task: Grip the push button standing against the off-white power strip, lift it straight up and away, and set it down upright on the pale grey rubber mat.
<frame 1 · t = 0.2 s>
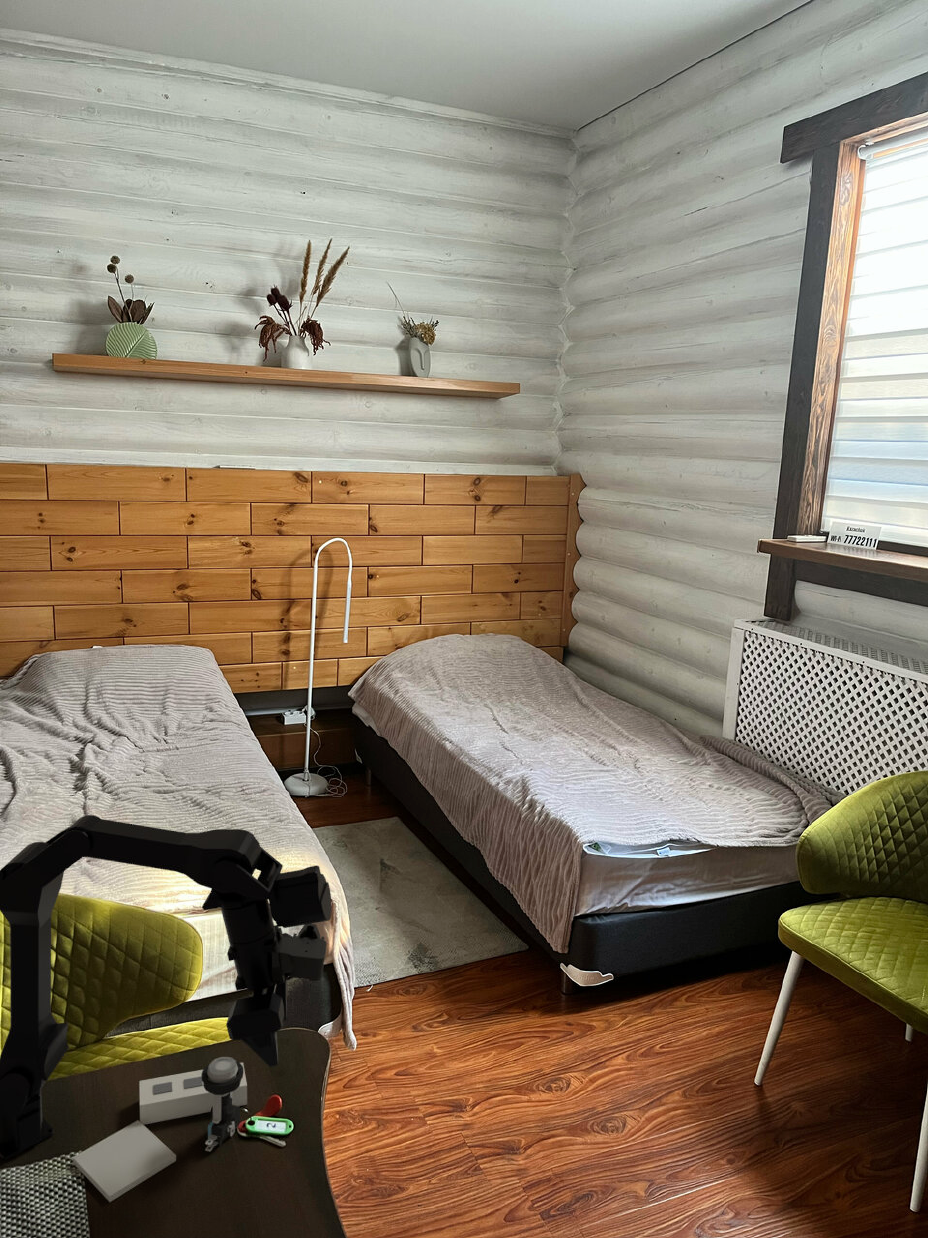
hand: (278, 1042, 117), 15 cm above the table, tool pointing down, fingers open, 9 cm apart
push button: (220, 1137, 121), on the table
rubber mat: (124, 1162, 116), on the table
power strip: (193, 1102, 127), on the table
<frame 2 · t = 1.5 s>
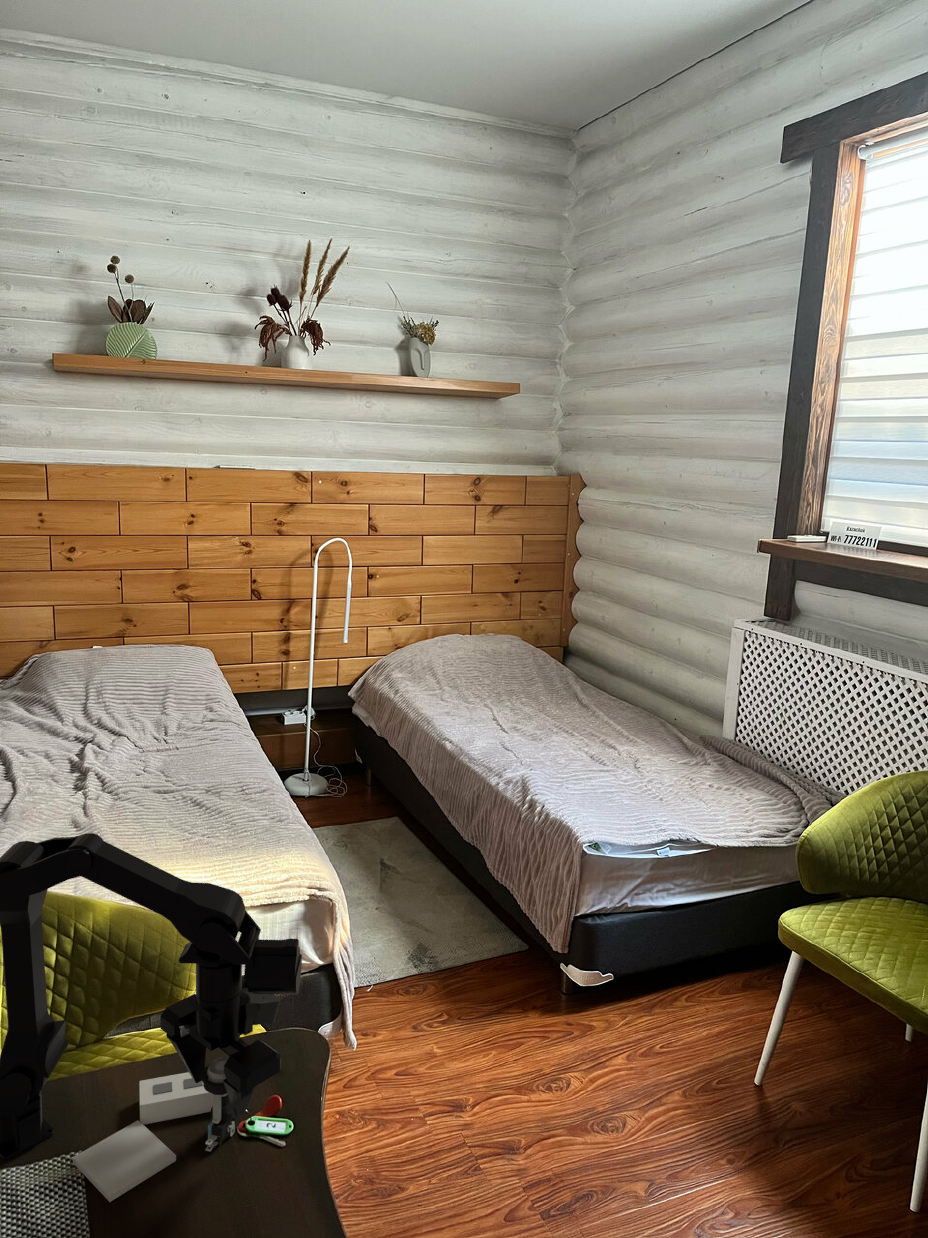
hand: (219, 1098, 120), 6 cm above the table, tool pointing down, fingers open, 9 cm apart
nothing on the table moved.
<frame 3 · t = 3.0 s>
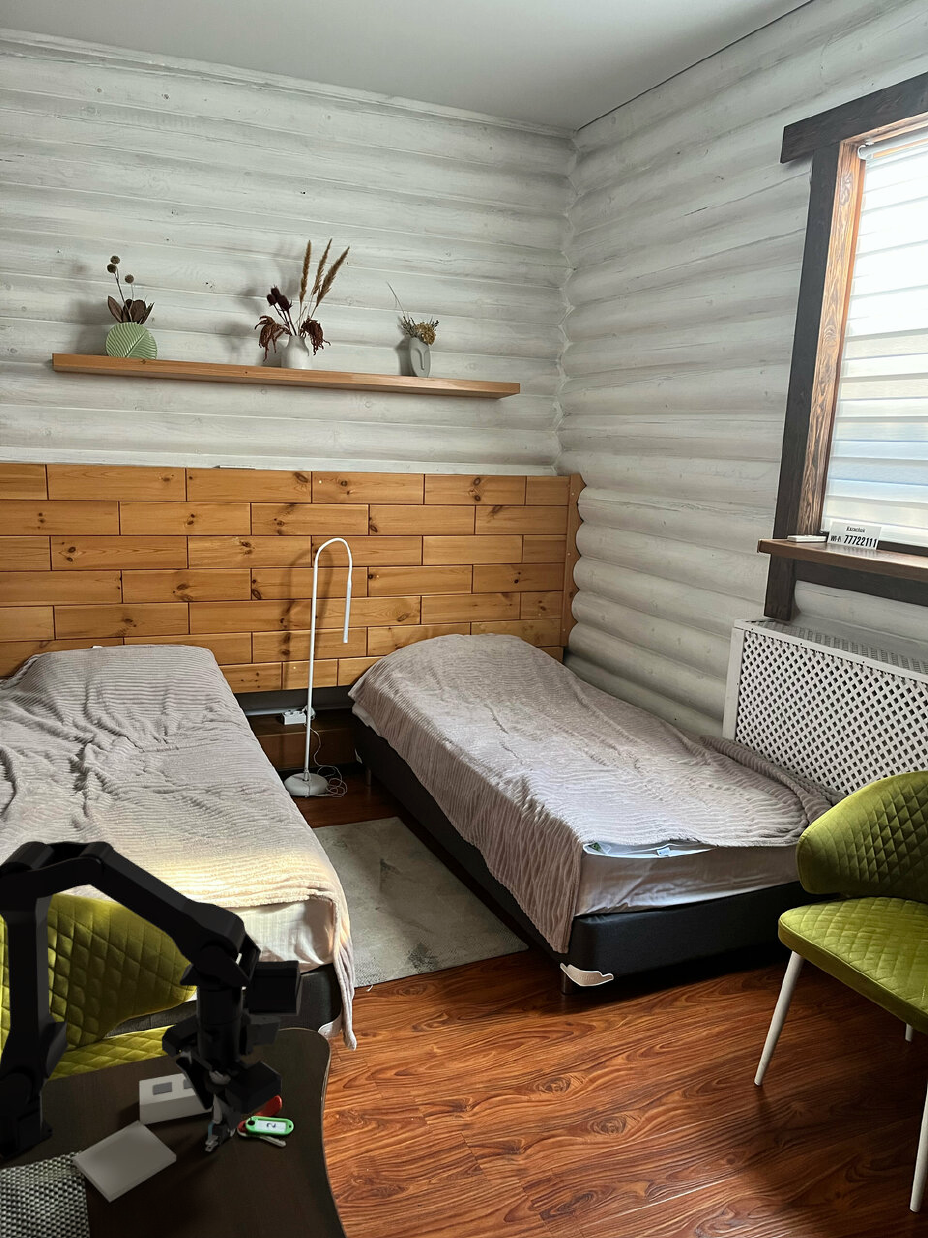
hand: (220, 1118, 121), 3 cm above the table, tool pointing down, fingers closed on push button, 5 cm apart
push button: (220, 1137, 121), on the table, touching gripper
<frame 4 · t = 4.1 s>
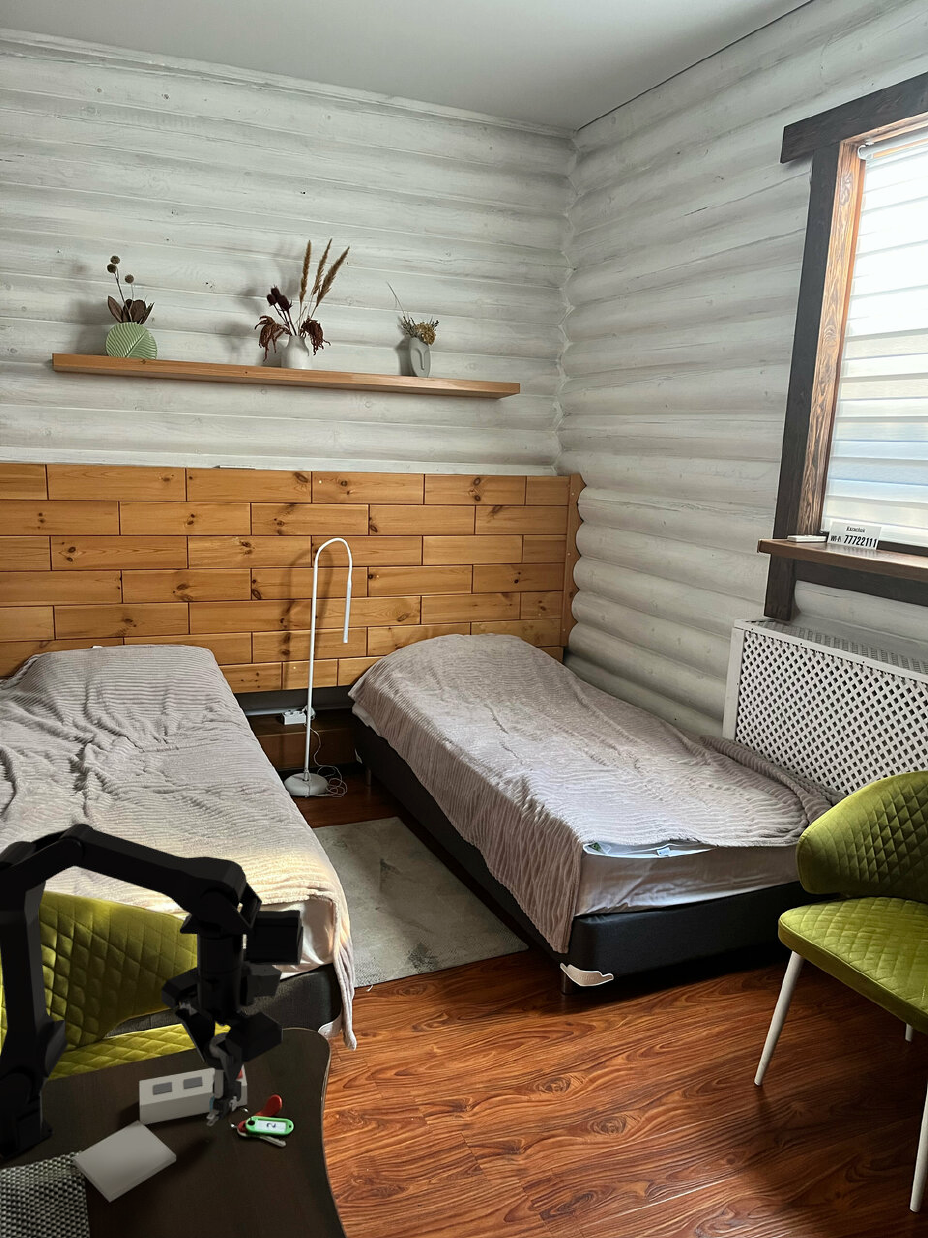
hand: (220, 1070, 120), 10 cm above the table, tool pointing down, fingers closed on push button, 5 cm apart
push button: (221, 1112, 121), point 4 cm above the table, touching gripper
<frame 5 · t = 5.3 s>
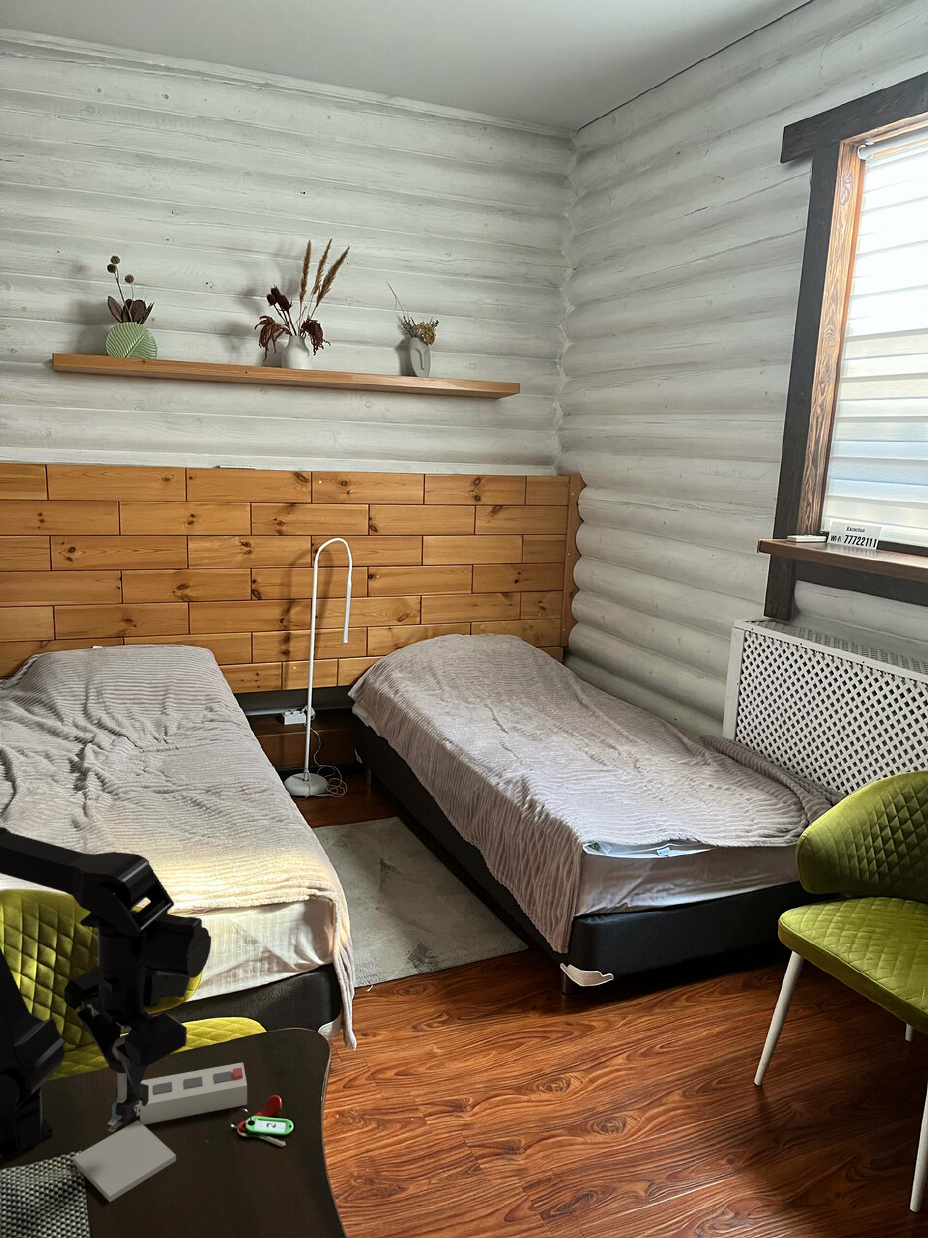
hand: (124, 1074, 114), 12 cm above the table, tool pointing down, fingers closed on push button, 5 cm apart
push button: (126, 1117, 115), point 6 cm above the table, touching gripper
when the fingers open (4 cm above the table, at t = 7.6 s): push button stays where it is, resting on rubber mat.
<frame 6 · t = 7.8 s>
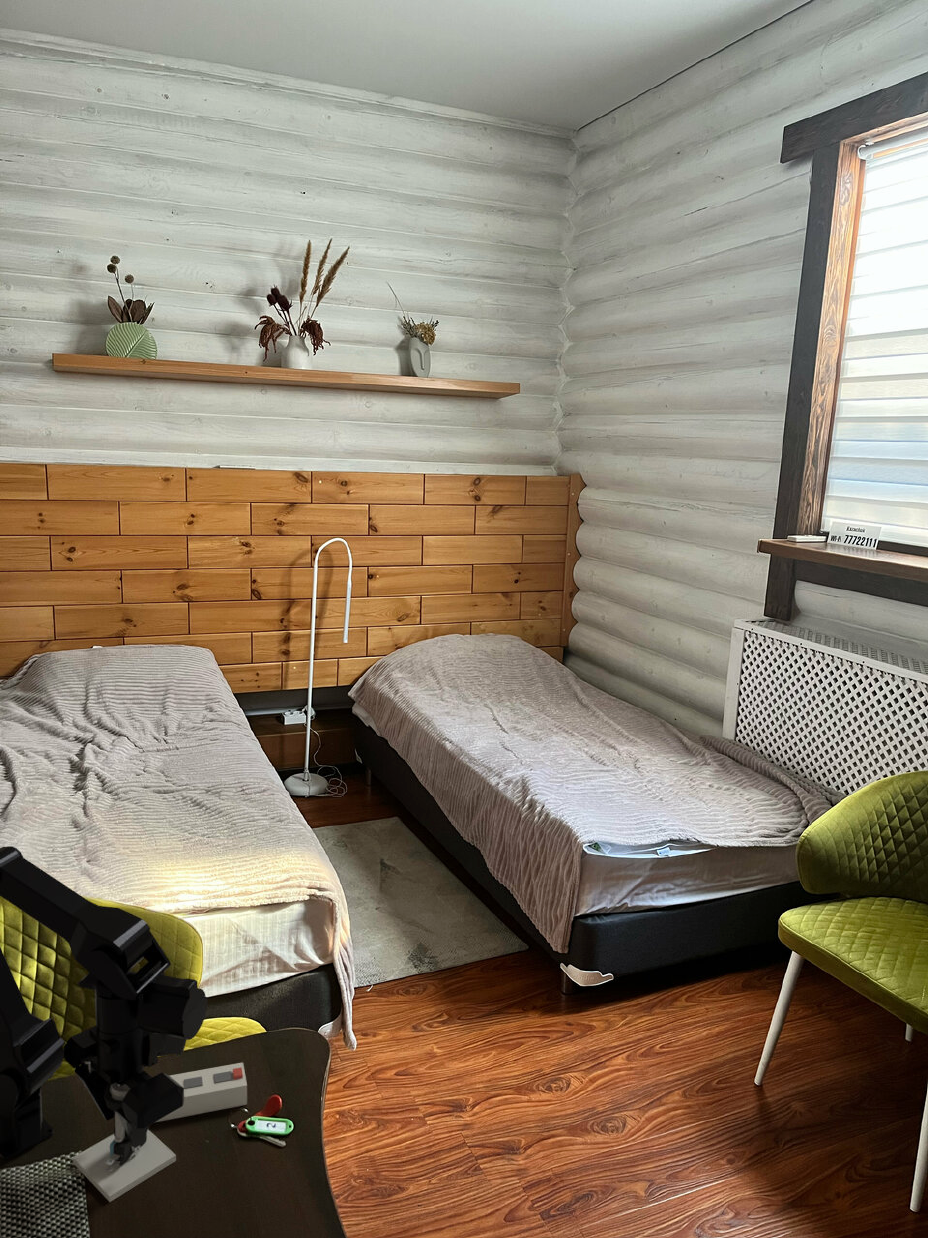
hand: (123, 1132, 116), 4 cm above the table, tool pointing down, fingers open, 6 cm apart
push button: (124, 1156, 116), point 1 cm above the table, touching rubber mat
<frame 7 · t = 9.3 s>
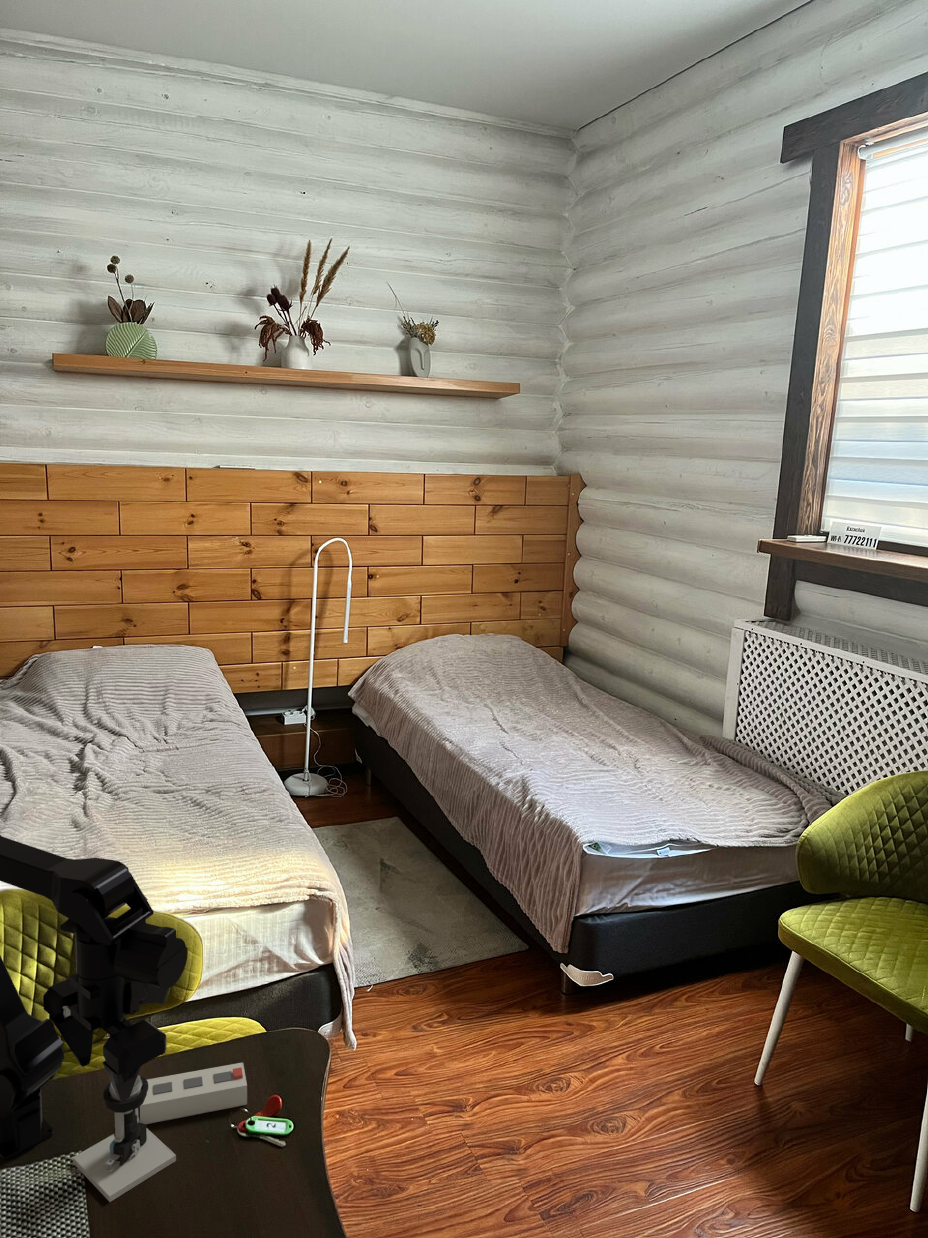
hand: (104, 1082, 113), 12 cm above the table, tool pointing down, fingers open, 9 cm apart
nothing on the table moved.
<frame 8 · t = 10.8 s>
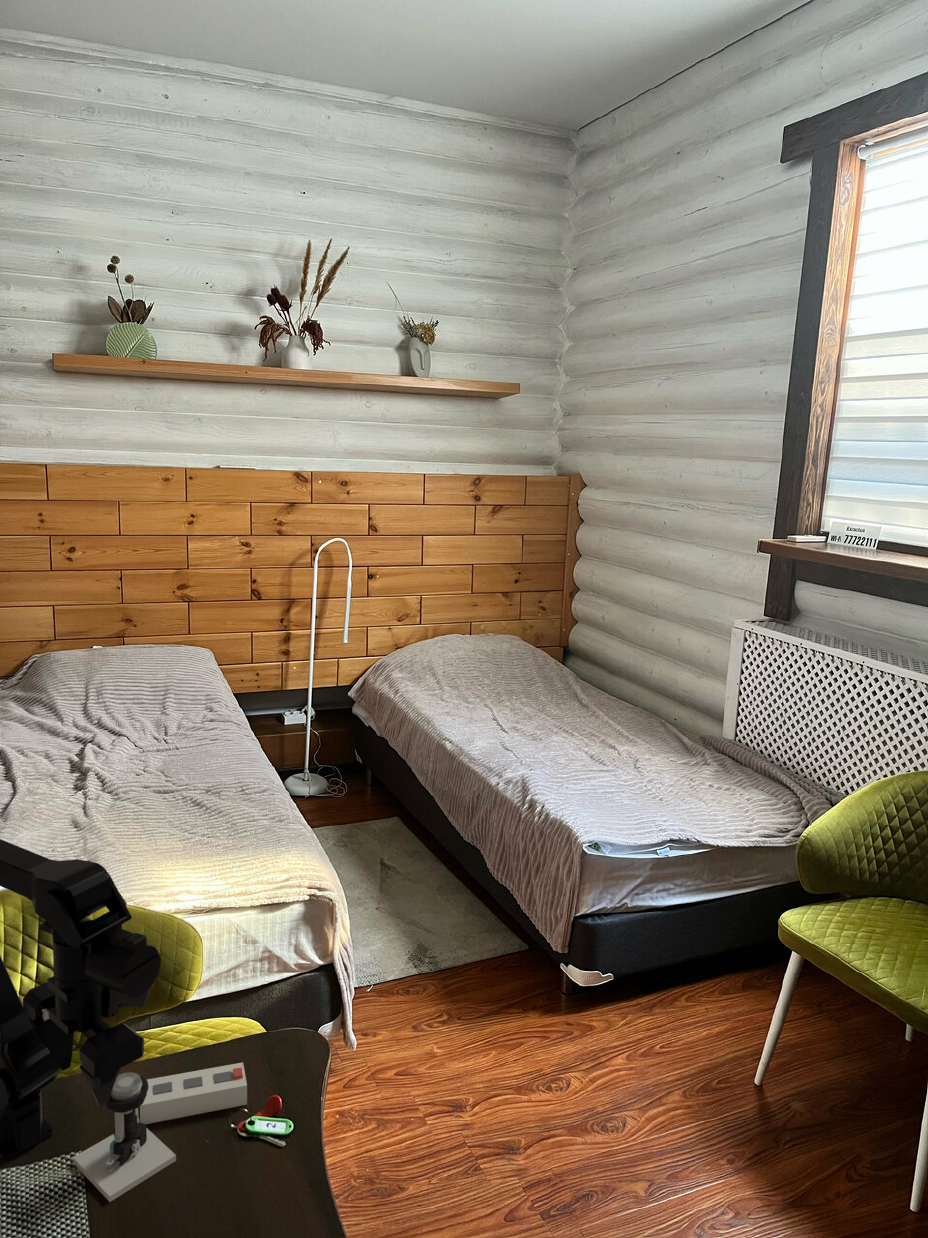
hand: (84, 1085, 112), 12 cm above the table, tool pointing down, fingers open, 9 cm apart
nothing on the table moved.
at the end: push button 0.2 cm off-centre on the rubber mat, point 0.6 cm above the rubber mat's base; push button tilted 0°; the gripper is holding nothing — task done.
